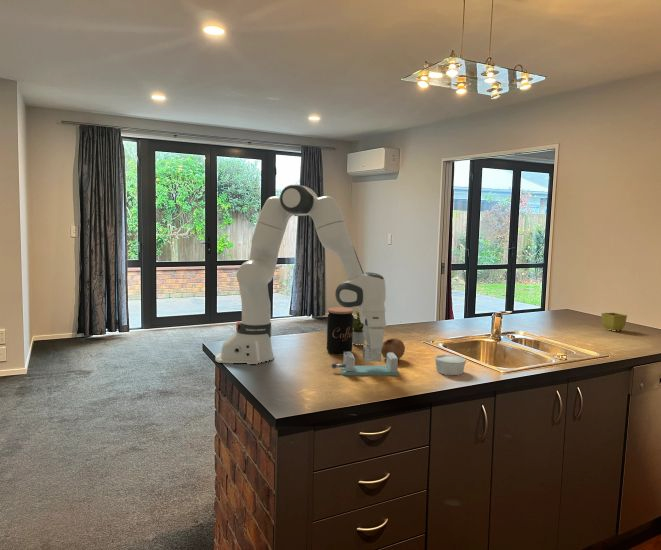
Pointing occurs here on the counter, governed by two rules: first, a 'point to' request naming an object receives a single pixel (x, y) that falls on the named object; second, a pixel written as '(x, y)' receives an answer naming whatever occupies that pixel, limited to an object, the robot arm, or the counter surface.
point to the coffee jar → (339, 330)
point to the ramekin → (450, 364)
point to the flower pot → (613, 321)
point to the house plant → (358, 331)
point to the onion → (393, 347)
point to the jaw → (346, 362)
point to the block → (367, 354)
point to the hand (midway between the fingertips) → (371, 355)
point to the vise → (376, 368)
